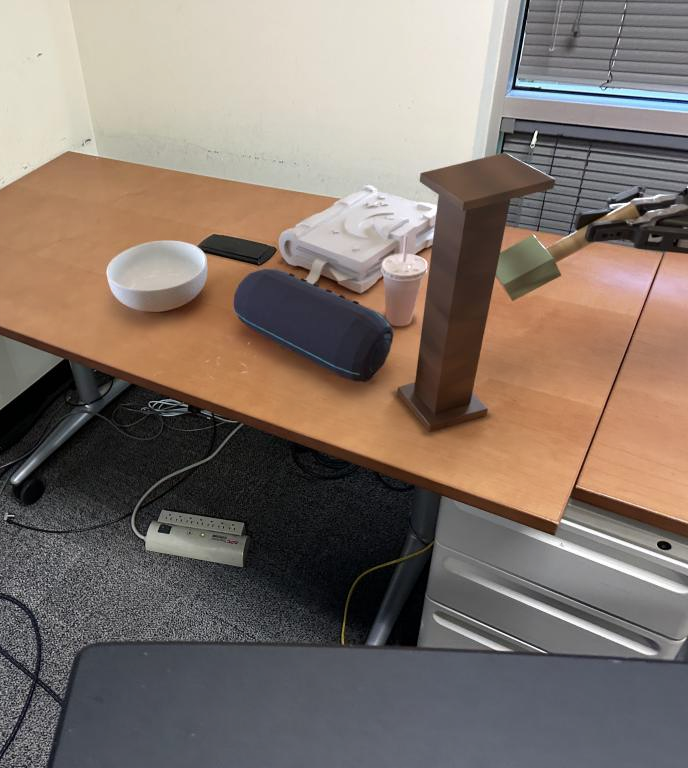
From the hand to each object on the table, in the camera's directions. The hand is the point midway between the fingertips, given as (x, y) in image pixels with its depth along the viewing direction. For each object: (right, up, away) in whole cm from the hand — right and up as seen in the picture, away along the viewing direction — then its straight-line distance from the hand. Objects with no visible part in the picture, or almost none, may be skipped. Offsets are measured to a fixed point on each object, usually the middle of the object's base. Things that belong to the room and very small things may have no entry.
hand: (582, 227), depth 81 cm
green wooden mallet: (-1, -3, +2) cm, 4 cm away
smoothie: (-14, -9, +24) cm, 29 cm away
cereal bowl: (-51, -4, +37) cm, 63 cm away
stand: (-13, -21, +9) cm, 26 cm away
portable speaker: (-28, -14, +21) cm, 37 cm away
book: (-17, +4, +39) cm, 43 cm away
